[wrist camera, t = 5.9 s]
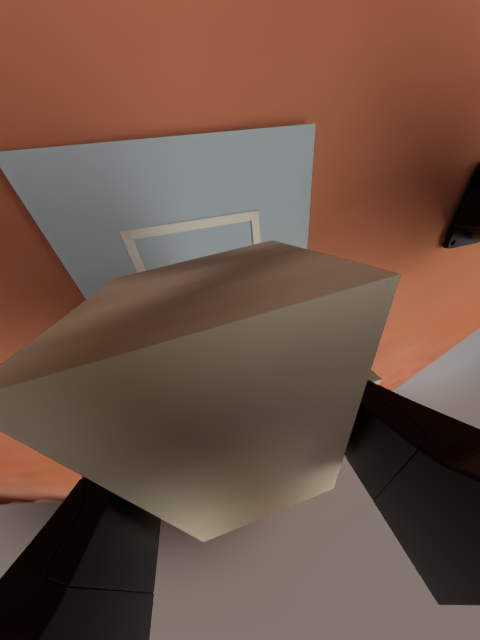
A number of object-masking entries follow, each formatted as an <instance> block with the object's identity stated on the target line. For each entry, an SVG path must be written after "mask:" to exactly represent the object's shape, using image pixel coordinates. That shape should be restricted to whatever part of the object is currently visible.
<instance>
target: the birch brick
mask: <svg viewBox="0 0 480 640" xmlns="http://www.w3.org/2000/svg"><path fill="white" fill-rule="evenodd" d="M400 275H401V274H398V273H395V272H391V271H387V270H383V269H380V268H376V267H372V266H368V265H365V264H361V263H357V262H353V261H349V260H346V259H342V258H338V257H334V256H331V255H327V254H323V253H319V252H316V251H312V250H308V249H304V248H300V247H297V246H293V245H289V244H285V243H282V242H278V241H274V240H270V241H266V242H262V243H258V244H254V245H250V246H246V247H241V248H237V249H233V250H229V251H225V252H221V253H217V254H213V255H209V256H204V257H200V258H196V259H192V260H188V261H184V262H180V263H176V264H171V265H167V266H163V267H159V268H155V269H151V270H147V271H143V272H139V273H134V274H130V275H126V276H122V277H118V278H114V279H113V280H111V281H110V282H109V283H107V284H106V285H105V286H103V287H102V288H101V289H99V290H98V291H97V292H96V293H94V294H93V295H92V296H90V297H89V298H88V299H86V300H85V301H84V302H82V303H81V304H80V305H79V306H77V307H76V308H75V309H73V310H72V311H71V312H69V313H68V314H67V315H65V316H64V317H63V318H61V319H60V320H59V321H58V322H56V323H55V324H54V325H52V326H51V327H50V328H48V329H47V330H46V331H44V332H43V333H42V334H40V335H39V336H38V337H37V338H35V339H34V340H33V341H31V342H30V343H29V344H27V345H26V346H25V347H23V348H22V349H21V350H19V351H18V352H17V353H16V354H14V355H13V356H12V357H10V358H9V359H8V360H6V361H5V362H4V363H2V364H1V365H0V431H1V432H3V433H5V434H7V435H8V436H10V437H12V438H14V439H16V440H18V441H19V442H21V443H23V444H25V445H27V446H29V447H30V448H32V449H34V450H36V451H38V452H40V453H41V454H43V455H45V456H47V457H49V458H51V459H52V460H54V461H56V462H58V463H60V464H62V465H63V466H65V467H67V468H69V469H71V470H73V471H74V472H76V473H78V474H80V475H82V476H84V477H85V478H87V479H89V480H91V481H93V482H95V483H96V484H98V485H100V486H102V487H104V488H106V489H107V490H109V491H111V492H113V493H115V494H116V495H118V496H120V497H122V498H124V499H126V500H127V501H129V502H131V503H133V504H135V505H137V506H138V507H140V508H142V509H144V510H146V511H148V512H149V513H151V514H153V515H155V516H157V517H159V518H160V519H162V520H164V521H166V522H168V523H170V524H172V525H173V526H175V527H177V528H179V529H181V530H183V531H185V532H186V533H188V534H190V535H192V536H193V537H196V538H197V539H199V540H201V541H203V542H205V541H207V540H210V539H212V538H215V537H217V536H220V535H222V534H224V533H227V532H229V531H232V530H234V529H236V528H239V527H241V526H244V525H246V524H249V523H251V522H253V521H256V520H258V519H261V518H263V517H266V516H268V515H270V514H272V513H275V512H278V511H280V510H282V509H285V508H287V507H289V506H292V505H295V504H297V503H299V502H302V501H304V500H307V499H309V498H311V497H314V496H316V495H319V494H321V493H324V492H326V491H328V490H331V489H333V488H334V485H335V482H336V479H337V476H338V472H339V469H340V466H341V463H342V460H343V457H344V453H345V450H346V447H347V444H348V441H349V437H350V434H351V431H352V428H353V425H354V422H355V418H356V415H357V412H358V409H359V406H360V402H361V399H362V396H363V393H364V390H365V387H366V383H367V380H368V377H369V374H370V371H371V367H372V364H373V361H374V358H375V355H376V352H377V348H378V345H379V342H380V339H381V336H382V332H383V329H384V326H385V323H386V320H387V316H388V313H389V310H390V307H391V304H392V301H393V297H394V294H395V291H396V288H397V285H398V281H399V278H400Z"/></svg>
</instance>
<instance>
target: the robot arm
mask: <svg viewBox="0 0 480 640" xmlns="http://www.w3.org/2000/svg"><path fill="white" fill-rule="evenodd" d="M478 242H480V165H479V166H478V168H477V169H476V172H475V174H474V176H473V178H472V181H471V183H470V185H469V187H468V190H467V192H466V194H465V196H464V199H463V201H462V203H461V205H460V208H459V210H458V212H457V214H456V217H455V219H454V221H453V223H452V226H451V228H450V230H449V232H448V235H447V237H446V239H445V241H444V244H443V247H444V248H455V247H459V246H464V245H468V244H473V243H478ZM344 455H345V456H346V458H347V460H348V462H349V463H350V465H351V466H352V468H353V469H354V471H355V473H356V474H357V476H358V477H359V479H360V480H361V482H362V484H363V485H364V487H365V488H366V490H367V491H368V493H369V495H370V496H371V498H372V499H373V501H374V503H375V505H376V506H377V508H378V509H379V511H380V512H381V514H382V516H383V517H384V519H385V520H386V522H387V524H388V525H389V527H390V528H391V530H392V532H393V533H394V535H395V536H396V538H397V539H398V541H399V543H400V544H401V546H402V547H403V549H404V551H405V552H406V554H407V555H408V557H409V559H410V560H411V562H412V563H413V565H414V566H415V568H416V570H417V571H418V573H419V574H420V576H421V578H422V579H423V581H424V582H425V584H426V586H427V587H428V589H429V590H430V592H431V593H432V595H433V596H434V598H435V599H436V601H437V602H438V604H439V605H480V429H478V428H475V427H473V426H471V425H468V424H466V423H463V422H461V421H459V420H456V419H454V418H452V417H449V416H447V415H444V414H442V413H440V412H437V411H435V410H433V409H430V408H428V407H426V406H423V405H421V404H419V403H416V402H414V401H412V400H410V399H407V398H405V397H403V396H401V395H399V394H396V393H394V392H392V391H390V390H388V389H386V388H384V387H382V386H380V385H378V384H375V383H374V382H372V381H370V380H367V383H366V387H365V390H364V393H363V396H362V399H361V402H360V406H359V409H358V412H357V415H356V418H355V422H354V425H353V428H352V431H351V434H350V437H349V441H348V444H347V447H346V450H345V453H344ZM160 524H161V519H160V518H159V517H157V516H155V515H153V514H151V513H149V512H148V511H146V510H144V509H142V508H140V507H138V506H137V505H135V504H133V503H131V502H129V501H127V500H126V499H124V498H122V497H120V496H118V495H116V494H115V493H113V492H111V491H109V490H107V489H106V488H104V487H102V486H100V485H98V484H96V483H95V482H93V481H91V480H89V479H87V478H85V477H84V476H83V477H82V479H80V480H79V481H78V483H77V484H76V485H75V487H74V488H73V489H72V491H71V492H70V493H69V495H68V496H67V497H66V499H65V500H64V501H63V502H62V504H61V505H60V506H59V508H58V509H57V510H56V511H55V513H54V514H53V515H52V517H51V518H50V519H49V520H48V522H47V523H46V524H45V525H44V526H43V528H42V529H41V530H40V531H39V533H38V534H37V535H36V536H35V538H34V539H33V540H32V542H31V543H30V544H29V545H28V546H27V547H26V549H25V550H24V551H23V552H22V553H21V555H20V556H19V557H18V558H17V559H16V561H15V562H14V563H13V564H12V565H11V567H10V568H9V569H8V570H7V571H6V573H5V574H4V575H3V576H2V577H1V579H0V640H149V637H150V636H149V635H150V627H151V617H152V606H153V596H154V594H153V592H154V585H155V575H156V564H157V555H158V545H159V534H160Z"/></svg>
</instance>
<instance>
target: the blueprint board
mask: <svg viewBox="0 0 480 640" xmlns="http://www.w3.org/2000/svg"><path fill="white" fill-rule="evenodd" d="M315 126H316V123H315V124H304V125H293V126H282V127H270V128H259V129H248V130H236V131H225V132H214V133H203V134H191V135H180V136H169V137H157V138H146V139H135V140H124V141H112V142H101V143H90V144H78V145H67V146H56V147H45V148H33V149H22V150H11V151H0V168H1V170H2V171H3V173H4V174H5V176H6V178H7V179H8V181H9V182H10V184H11V185H12V187H13V188H14V190H15V191H16V193H17V194H18V196H19V198H20V199H21V201H22V202H23V204H24V205H25V207H26V208H27V210H28V211H29V213H30V214H31V216H32V218H33V219H34V221H35V222H36V224H37V225H38V227H39V228H40V230H41V231H42V233H43V234H44V236H45V237H46V239H47V241H48V242H49V244H50V245H51V247H52V248H53V250H54V251H55V253H56V254H57V256H58V257H59V259H60V261H61V262H62V264H63V265H64V267H65V268H66V270H67V271H68V273H69V274H70V276H71V277H72V279H73V281H74V282H75V284H76V285H77V287H78V288H79V290H80V291H81V293H82V294H83V296H84V297H85V299H88V298H89V297H90V296H92V295H93V294H94V293H96V292H97V291H98V290H99V289H101V288H102V287H103V286H105V285H106V284H107V283H109V282H110V281H111V280H113V279H114V278H118V277H122V276H126V275H130V274H134V273H139V272H143V271H147V270H151V269H155V268H159V267H163V266H167V265H171V264H176V263H180V262H184V261H188V260H192V259H196V258H200V257H204V256H209V255H213V254H217V253H221V252H225V251H229V250H233V249H237V248H241V247H246V246H250V245H254V244H258V243H262V242H266V241H270V240H274V241H278V242H282V243H285V244H289V245H293V246H297V247H300V248H304V249H307V245H308V230H309V215H310V200H311V185H312V170H313V156H314V141H315Z"/></svg>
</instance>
